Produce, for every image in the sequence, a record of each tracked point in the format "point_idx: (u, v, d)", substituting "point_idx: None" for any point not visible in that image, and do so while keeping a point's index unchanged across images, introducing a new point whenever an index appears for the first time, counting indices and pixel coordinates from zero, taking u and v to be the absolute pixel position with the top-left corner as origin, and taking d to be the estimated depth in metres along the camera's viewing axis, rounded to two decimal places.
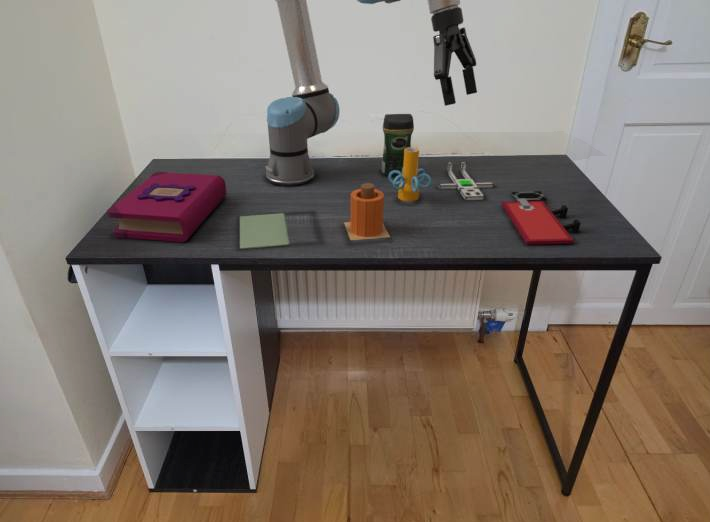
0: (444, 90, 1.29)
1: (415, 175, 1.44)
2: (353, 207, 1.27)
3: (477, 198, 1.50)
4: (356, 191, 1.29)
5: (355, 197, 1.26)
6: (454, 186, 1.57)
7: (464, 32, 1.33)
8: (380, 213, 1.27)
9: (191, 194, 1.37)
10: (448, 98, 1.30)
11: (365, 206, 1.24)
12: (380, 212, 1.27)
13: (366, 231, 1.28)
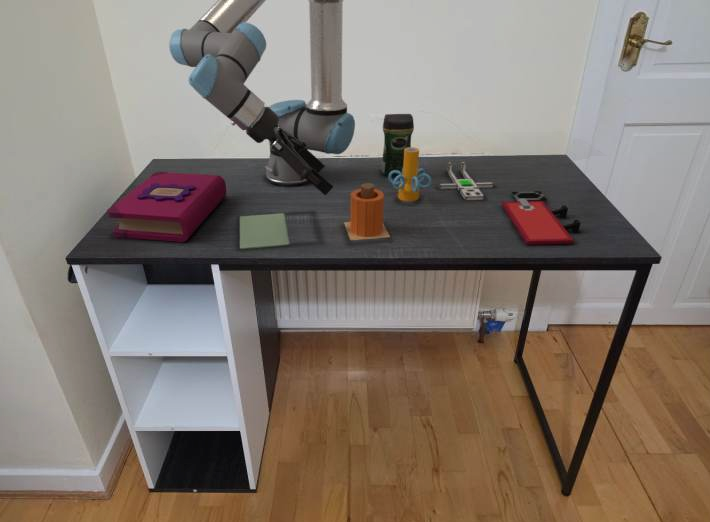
0: None
1: (415, 175, 1.44)
2: (353, 207, 1.27)
3: (477, 198, 1.50)
4: (356, 191, 1.29)
5: (355, 197, 1.26)
6: (454, 186, 1.57)
7: None
8: (380, 213, 1.27)
9: (191, 194, 1.37)
10: None
11: (365, 206, 1.24)
12: (380, 212, 1.27)
13: (366, 231, 1.28)
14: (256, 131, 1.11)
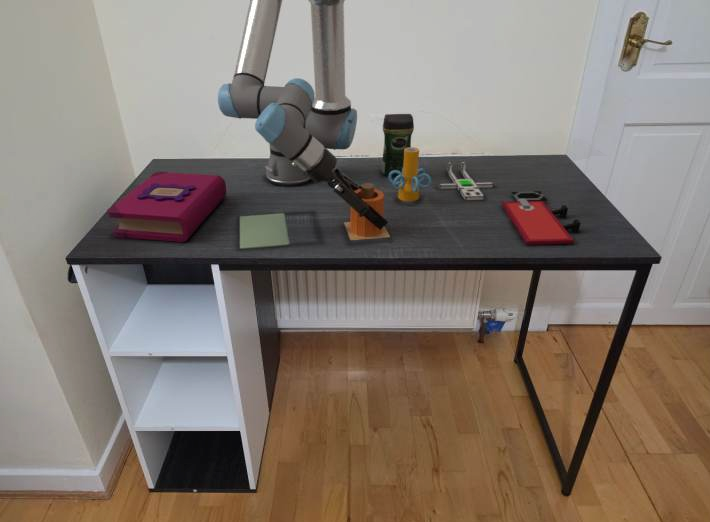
0: None
1: (415, 175, 1.44)
2: None
3: (477, 198, 1.50)
4: (356, 191, 1.29)
5: None
6: (454, 186, 1.57)
7: None
8: (380, 213, 1.27)
9: (191, 194, 1.37)
10: None
11: None
12: (380, 212, 1.27)
13: (366, 231, 1.28)
14: (316, 172, 1.18)
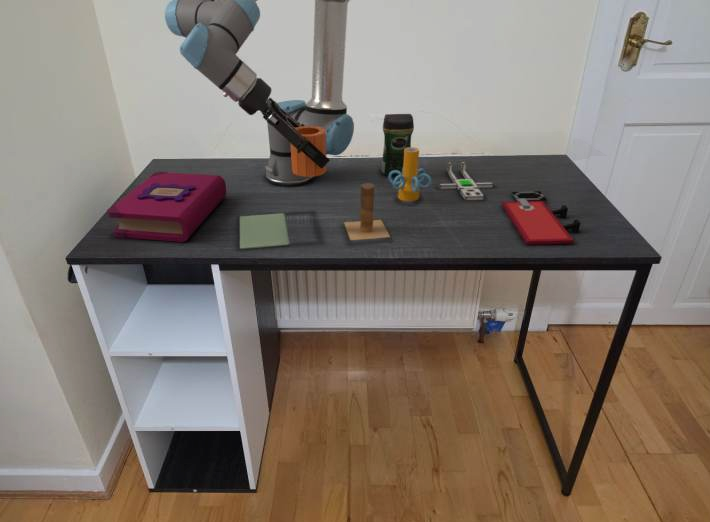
0: None
1: (415, 175, 1.44)
2: None
3: (477, 198, 1.50)
4: (296, 128, 1.21)
5: None
6: (454, 186, 1.57)
7: None
8: (321, 151, 1.19)
9: (191, 194, 1.37)
10: None
11: None
12: (321, 149, 1.19)
13: (307, 170, 1.20)
14: (248, 102, 1.10)
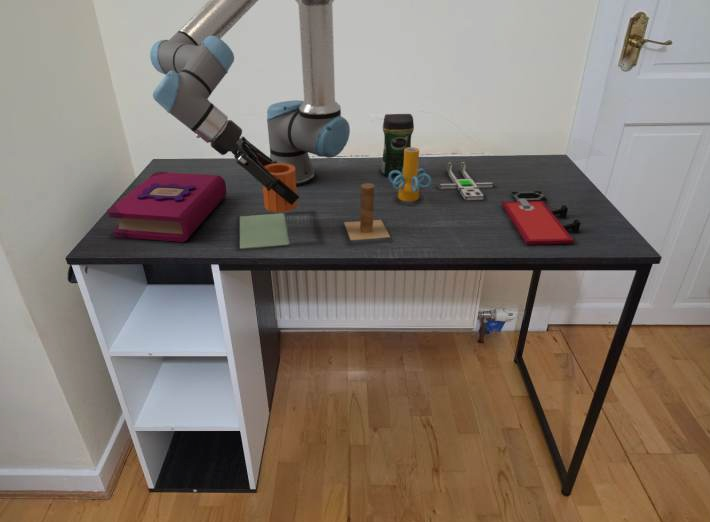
0: None
1: (415, 175, 1.44)
2: None
3: (477, 198, 1.50)
4: (268, 165, 1.26)
5: None
6: (454, 186, 1.57)
7: None
8: (291, 188, 1.24)
9: (191, 194, 1.37)
10: None
11: None
12: (291, 187, 1.24)
13: (278, 206, 1.25)
14: (219, 144, 1.15)
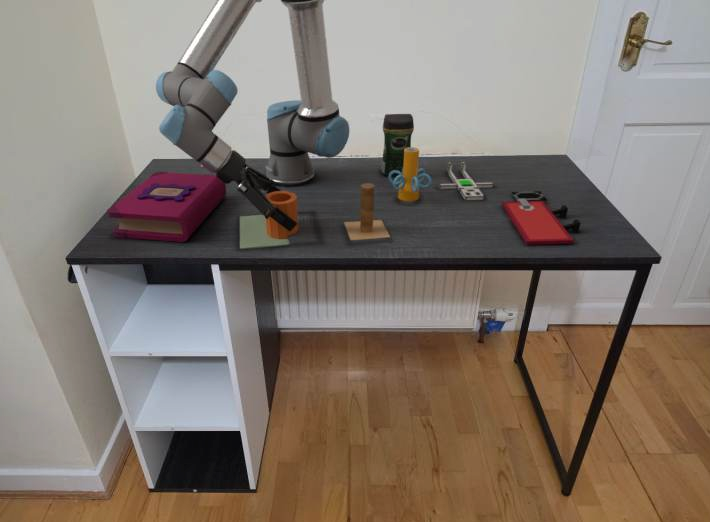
0: None
1: (415, 175, 1.44)
2: None
3: (477, 198, 1.50)
4: (270, 194, 1.30)
5: None
6: (454, 186, 1.57)
7: None
8: (293, 216, 1.28)
9: (191, 194, 1.37)
10: None
11: None
12: (293, 215, 1.28)
13: (280, 233, 1.29)
14: (223, 174, 1.19)
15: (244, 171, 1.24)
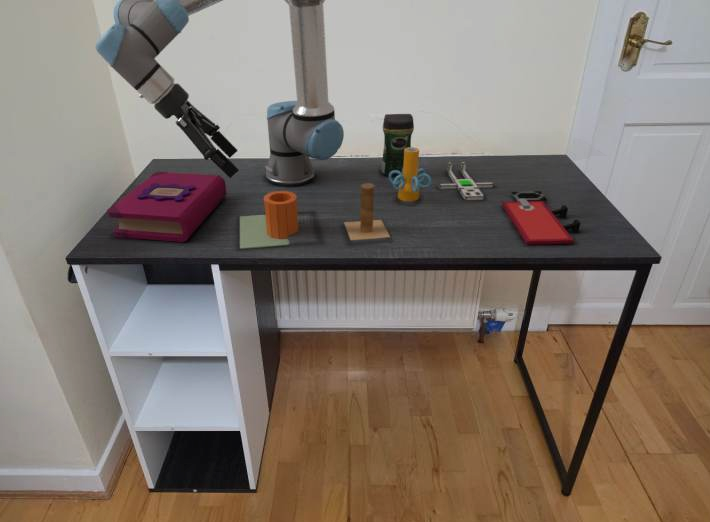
0: None
1: (415, 175, 1.44)
2: (266, 210, 1.28)
3: (477, 198, 1.50)
4: (270, 194, 1.30)
5: (267, 200, 1.27)
6: (454, 186, 1.57)
7: None
8: (293, 216, 1.28)
9: (191, 194, 1.37)
10: None
11: (276, 209, 1.26)
12: (293, 215, 1.28)
13: (280, 233, 1.29)
14: (163, 106, 1.11)
15: (187, 108, 1.17)
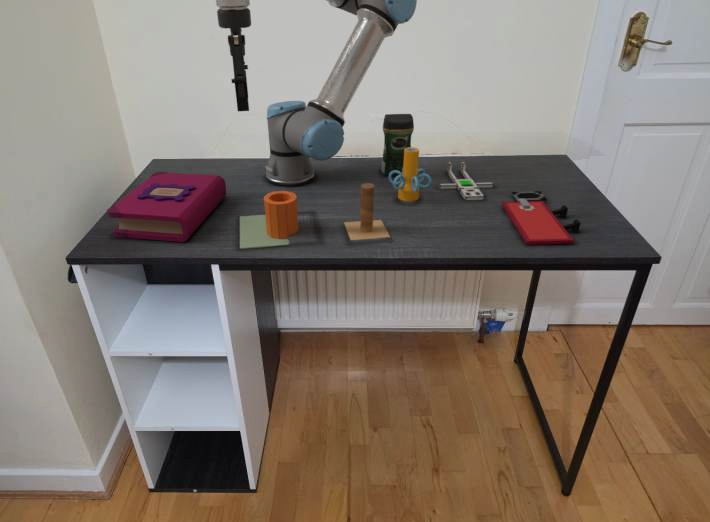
0: None
1: (415, 175, 1.44)
2: (266, 210, 1.28)
3: (477, 198, 1.50)
4: (270, 194, 1.30)
5: (267, 200, 1.27)
6: (454, 186, 1.57)
7: (231, 40, 1.17)
8: (293, 216, 1.28)
9: (191, 194, 1.37)
10: None
11: (276, 209, 1.26)
12: (293, 215, 1.28)
13: (280, 233, 1.29)
14: (228, 15, 1.16)
15: None
